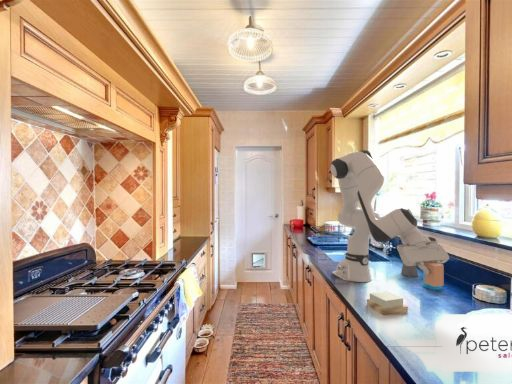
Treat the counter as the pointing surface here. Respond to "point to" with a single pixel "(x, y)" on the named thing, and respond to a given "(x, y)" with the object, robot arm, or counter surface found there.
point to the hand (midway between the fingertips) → (435, 273)
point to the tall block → (435, 274)
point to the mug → (430, 285)
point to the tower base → (387, 310)
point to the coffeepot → (409, 270)
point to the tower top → (386, 299)
